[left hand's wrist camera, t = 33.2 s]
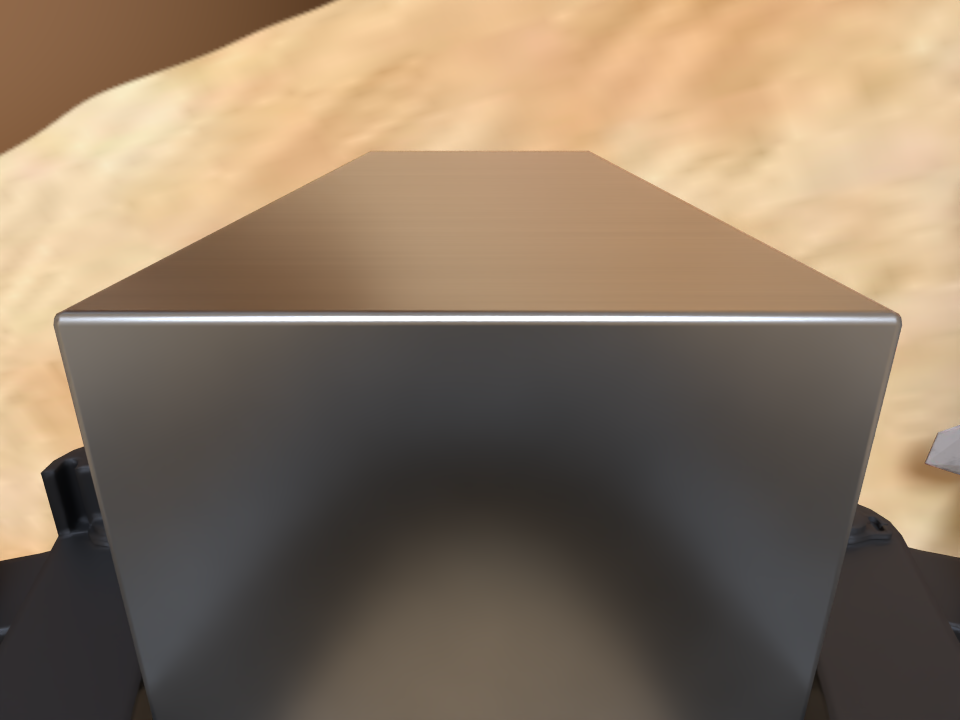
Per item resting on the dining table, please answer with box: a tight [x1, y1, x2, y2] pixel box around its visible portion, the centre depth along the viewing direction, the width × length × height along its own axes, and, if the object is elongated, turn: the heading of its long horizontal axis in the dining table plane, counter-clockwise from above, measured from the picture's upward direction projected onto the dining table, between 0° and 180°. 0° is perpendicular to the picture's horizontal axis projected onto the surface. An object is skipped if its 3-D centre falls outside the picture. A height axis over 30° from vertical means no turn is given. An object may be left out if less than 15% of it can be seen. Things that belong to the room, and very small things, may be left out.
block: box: [54, 151, 902, 720], centre depth 11 cm, size 8×5×12 cm, turn 0°
